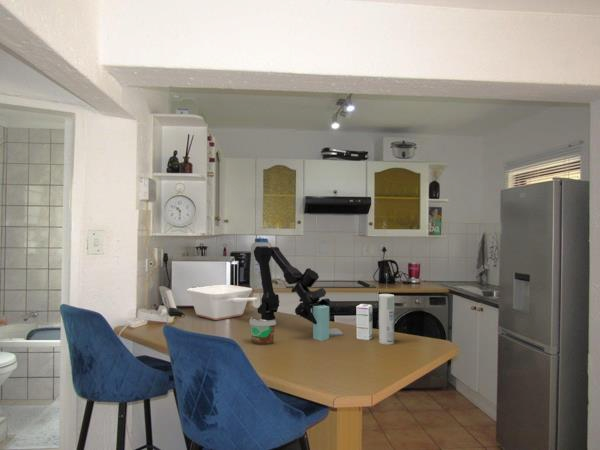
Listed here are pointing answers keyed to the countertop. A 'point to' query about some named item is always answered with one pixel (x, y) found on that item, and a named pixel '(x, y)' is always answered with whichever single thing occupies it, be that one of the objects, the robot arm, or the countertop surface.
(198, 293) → the pot
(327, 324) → the block
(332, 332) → the coaster
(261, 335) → the food container
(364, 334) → the syrup box
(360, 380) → the countertop surface
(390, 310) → the spray can
